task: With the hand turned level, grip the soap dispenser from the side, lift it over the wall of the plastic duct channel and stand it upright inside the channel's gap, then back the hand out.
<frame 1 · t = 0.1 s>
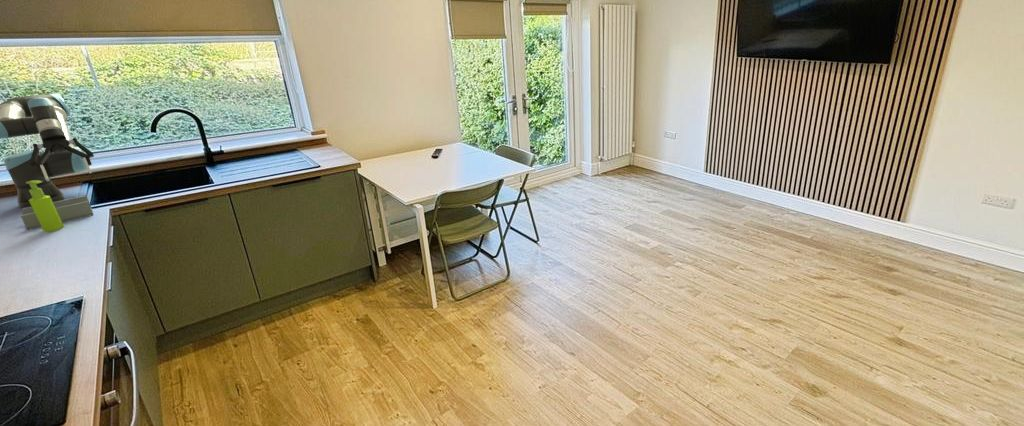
hand: (69, 176, 192), 15 cm above the counter, tool tilted 35°, fingers open, 13 cm apart
duct: (61, 218, 189), on the counter
soap dispenser: (55, 229, 178), on the counter
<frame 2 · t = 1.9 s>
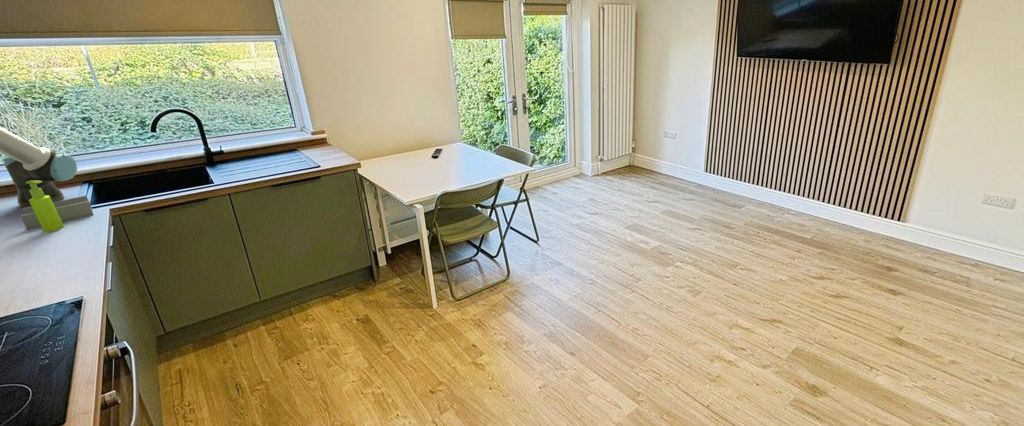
nothing on the counter moved.
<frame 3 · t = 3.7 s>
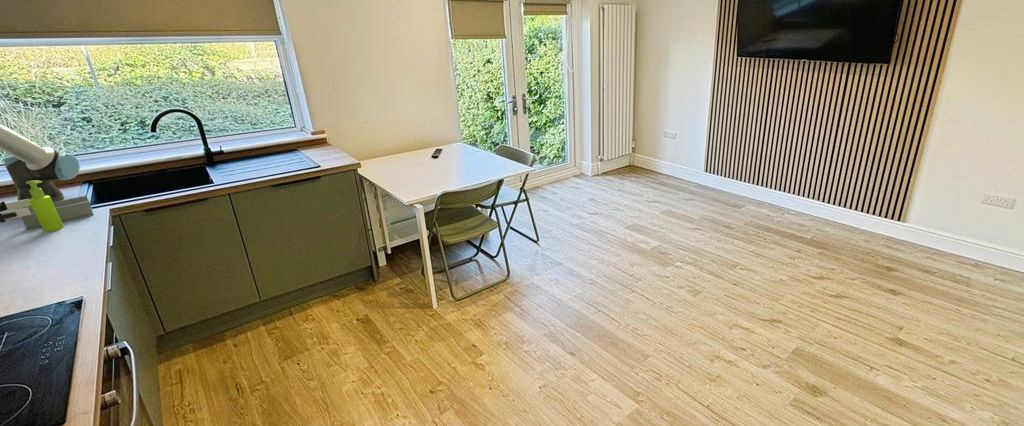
hand: (30, 206, 171), 11 cm above the counter, tool horizontal, fingers open, 13 cm apart
nothing on the counter moved.
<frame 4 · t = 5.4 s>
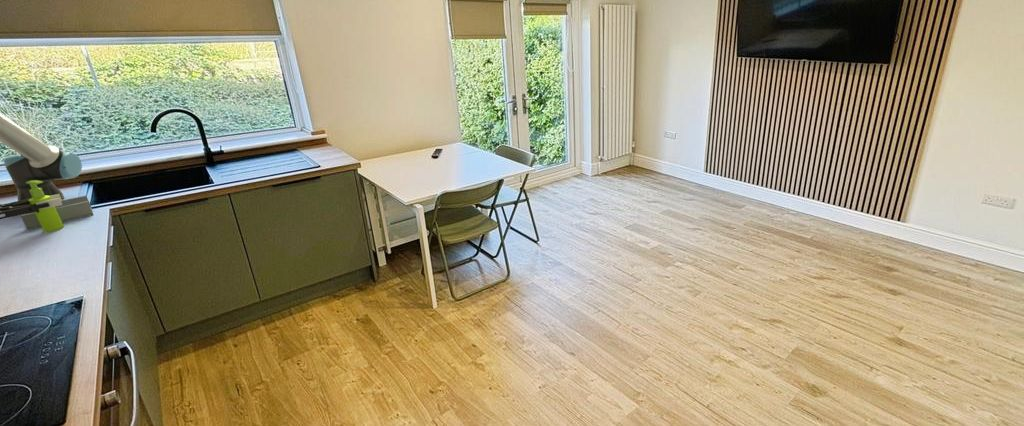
hand: (60, 199, 177), 11 cm above the counter, tool horizontal, fingers closed on soap dispenser, 6 cm apart
soap dispenser: (55, 229, 178), on the counter, touching gripper
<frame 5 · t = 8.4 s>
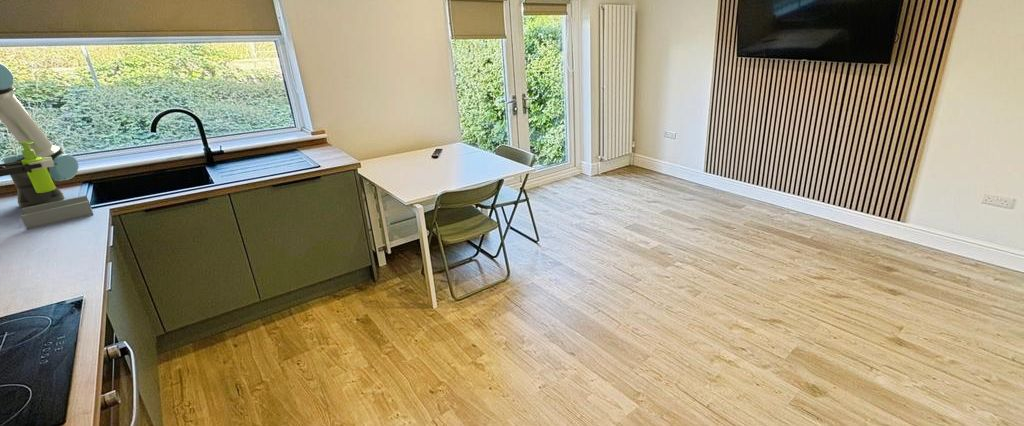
hand: (52, 161, 182), 24 cm above the counter, tool horizontal, fingers closed on soap dispenser, 6 cm apart
soap dispenser: (47, 190, 183), point 13 cm above the counter, touching gripper
when the fingers open (13 cm above the counter, at t = 10.9 s): soap dispenser drops 2 cm, resting on duct.
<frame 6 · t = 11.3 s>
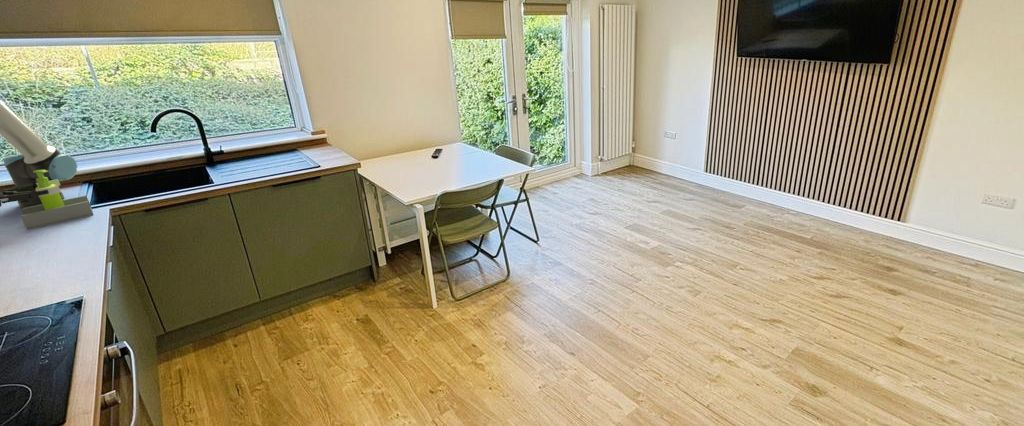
hand: (59, 185, 186), 13 cm above the counter, tool horizontal, fingers open, 12 cm apart
soap dispenser: (60, 216, 188), point 1 cm above the counter, touching duct
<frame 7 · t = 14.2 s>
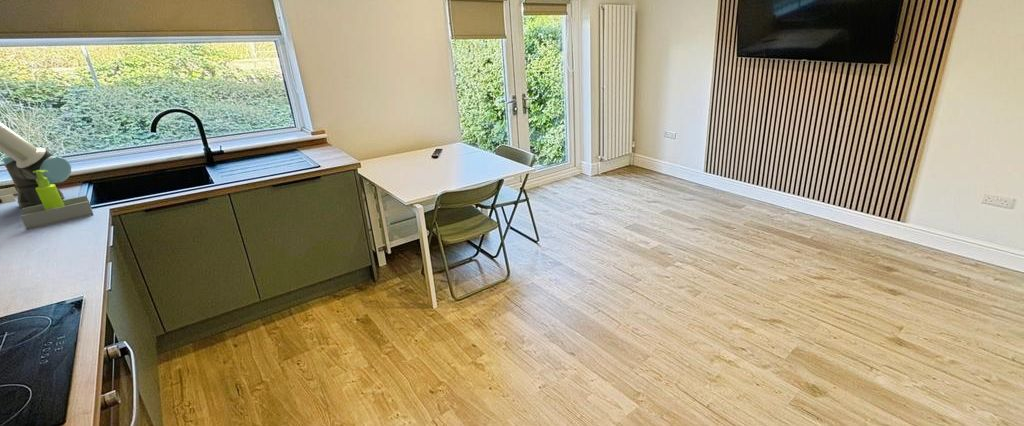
hand: (15, 193, 178), 14 cm above the counter, tool horizontal, fingers open, 13 cm apart
nothing on the counter moved.
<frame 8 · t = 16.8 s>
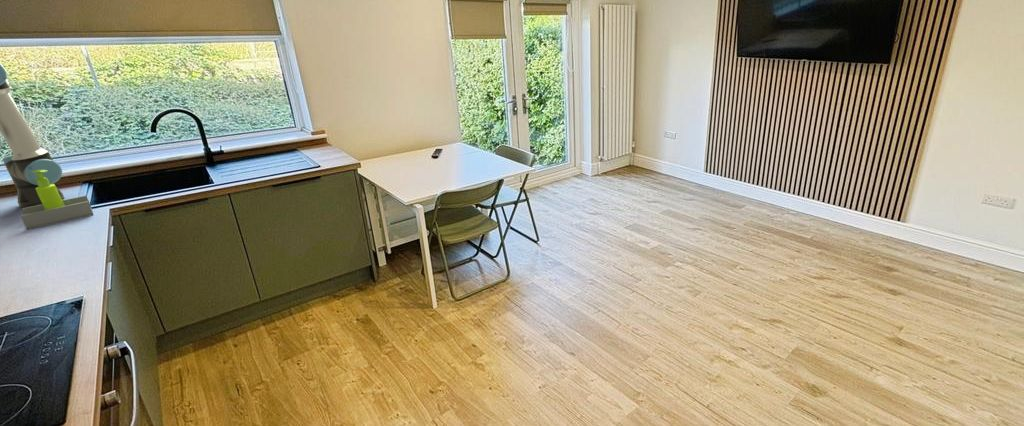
hand: (0, 144, 179), 32 cm above the counter, tool horizontal, fingers open, 13 cm apart
nothing on the counter moved.
at the end: soap dispenser inside the target area on the duct (0.1 cm from its centre), point 0.8 cm above the duct's base; soap dispenser tilted 0°; the gripper is holding nothing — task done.
